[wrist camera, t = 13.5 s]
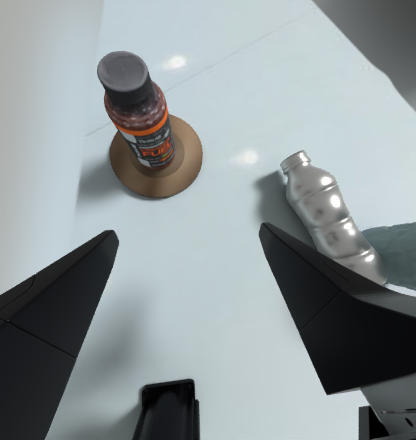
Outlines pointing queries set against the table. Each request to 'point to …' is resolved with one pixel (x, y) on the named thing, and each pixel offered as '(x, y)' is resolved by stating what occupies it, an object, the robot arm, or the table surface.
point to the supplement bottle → (137, 108)
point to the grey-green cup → (396, 252)
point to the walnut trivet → (160, 178)
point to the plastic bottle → (329, 218)
